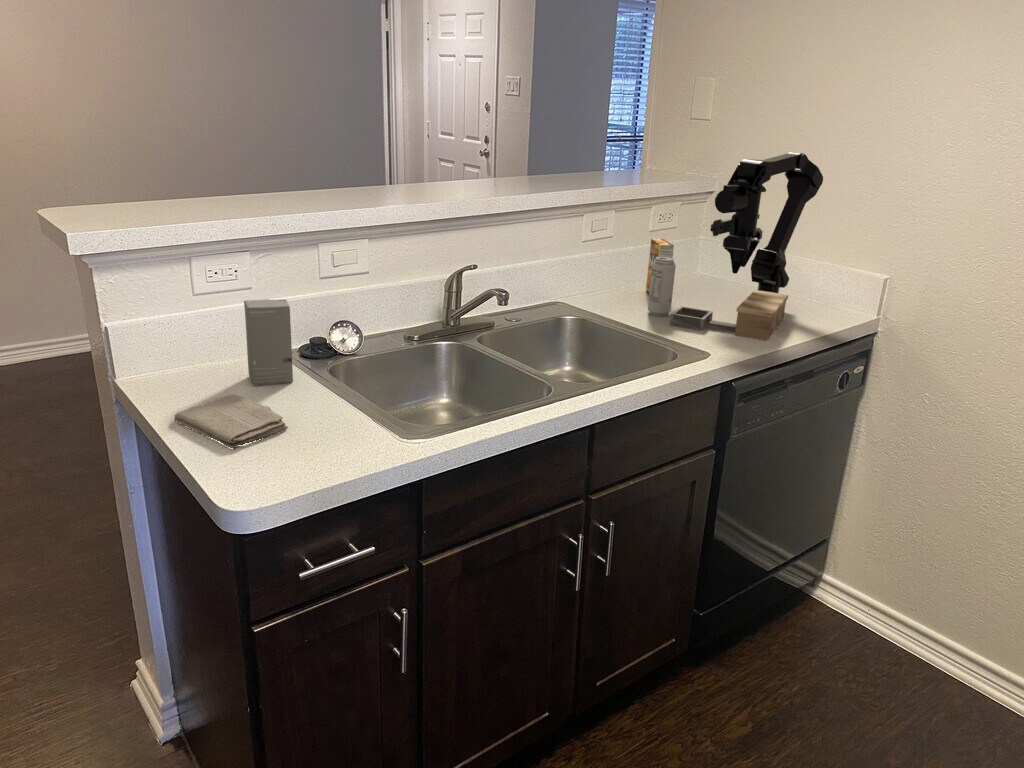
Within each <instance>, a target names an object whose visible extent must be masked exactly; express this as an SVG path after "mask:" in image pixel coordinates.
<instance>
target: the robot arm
mask: <svg viewBox="0 0 1024 768" xmlns="http://www.w3.org/2000/svg"><path fill="white" fill-rule="evenodd" d="M783 173H784V176H785V177H786V179H787V184H786V191H787V199H786V202H785V204H784V206H783V208H782V210H781V213H780V215H779V218H778V220H777V221H776V225H775V227H774V230H773V231H772V234H771V237H770V239H769V240H768V244H767V245H766V246H765V247H764V248H758V249H757V246H758V245H759V244H760V243H761V240H762V238H763V230H762V229H761V227H757V225H758V219H760V216H761V215H760V213H759V210H760V206H761V205H760V204H761V197H762V193H766V192H767V188H766V187H765V186H764V184H765V183H768V182H769V181H770V180H771V178H772V176H775V175H780V174H783ZM823 182H824V176H823V174H822V172H821V170H820V168H819V166H817V165H816V164H815V163H814V162H812V161H811V160H810V159H809V158H808V156H807V154H805V153H804V152H796V151H789V152H786V153H784V154H781V155H780V154H779V155H777V156H773V157H770V158H766V159H765V158H764V159H753V158H744V159H742V160H740V161H739V164H738V165H737V166H736V168H735V170H734V171H733V173H732V175H731V177H730V179H729V180H728V182H727V184H724V185H723V189H722V190H720V191H719V192H718V193H716V196H715V199H714V206H715V208H716V210H717V211H718V212H719V213H721V214H730V213H731V214H732V213H733V214H732V215H731V218H728V219H723V220H722V218H719V219H715V220H714V221H713V223H712V224H710V232H712V237H717V236H719V235H723V234H727V233H728V234H729V235H727V236H726V237H724V238H723V242H722V247H723V248H724V250H726V251H727V253H729V257H730V263H731V272H732V274H736V275H737V274H738V272H739V270H740V268H741V267H742V268H745V267H746V266H747V263H748V262H749V261H750V259H751V257H752V255H753V254H754V252H755V250H756V249H757V250H756V253H755V255H754V257H753V260H752V261H751V262H752V263H751V265H750V275H751V282H752V283H753V282H754V283H757V285H758V286H757V290H759V291H766V292H773V293H779V294H780V289H781V288H786V287H787V286H788V284H789V281H790V277H789V275H788V273H787V271H786V269H785V268H786V265H787V259H786V250H787V247H788V245H789V243H790V242H791V239H792V236H793V234H794V232H795V229H796V228H797V224H798V222H799V220H800V218H801V215H802V213H803V210H804V208H805V205H806V204H807V203H808V202H809V201H810V200H812V199H813V198H815V196H816V195H817V193H818V191H819V189H820V188H821V186H822V185H823Z"/></svg>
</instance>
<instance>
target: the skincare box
mask: <svg viewBox="0 0 1024 768" xmlns="http://www.w3.org/2000/svg"><path fill="white" fill-rule="evenodd" d="M243 306H244V317H245V336H246V352H247V355H246V356H247V366H248V367H247V368H248V369H247V370H248V371H247V372H248V377H249V380H250V384H251V386H252V387H257V386H266V385H276V384H282V383H283V384H284V383H293V382H294V375H293V373H294V372H293V370H294V369H293V352H292V351H293V348H292V347H293V346H292V328H291V327H292V326H291V307H290V304H289V303H288V301H287V299H267V298H266V299H250V300H243Z"/></svg>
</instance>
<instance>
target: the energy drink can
mask: <svg viewBox="0 0 1024 768" xmlns="http://www.w3.org/2000/svg"><path fill="white" fill-rule="evenodd" d="M675 275H676V263H675V258H674V257H672V258H671V257H666V256H658V257H655V260H654V262H653V263H652V272H651V282H650V292H648V293H649V294H648V302H647V303H648V304H647V311H648V312H649V314H650V315H651V316H654V317H666V316H667V317H668V315H669V314H671V313H672V312H671V310H672V301H673V294H674V284H675Z"/></svg>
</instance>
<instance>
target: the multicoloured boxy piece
mask: <svg viewBox="0 0 1024 768" xmlns="http://www.w3.org/2000/svg"><path fill="white" fill-rule="evenodd" d="M788 299H789V294H785V293H780V292H779V293H773V292H766V291H759V290H758V289H754V290H753V292H752V293H750V295H748V296H747V297H746V298H745V299H744V300H743V301H742V302H741V303H740V304H739V305H738V306H737V307H736V313H737V315H736V316H737V317H736V323H731V322H726V321H721V320H714V319H713V315H714V311H712V310H707V309H700V308H694V307H688V306H682V305H680V306H679V307H677V308H676V309H675V310H674V311H672V312H670V317H669V324H668V325H669V326H671V327H672V326H673V327H678V328H685V329H690V330H695V331H700V332H701V331H702V332H703V331H704V330H706V329H709V330H715V331H720V332H726V333H727V332H728V333H732V334H734V335H735V336H740V337H744V338H750V339H756V340H757V339H758V340H762V341H769V339H770V338H771V337H772V336H773V334H774V333H775V332H774V331H776V330H777V329H778V328H777V327H780V326H781V324H780V323H783V322H784V315H785V310H786V303H787V300H788Z"/></svg>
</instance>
